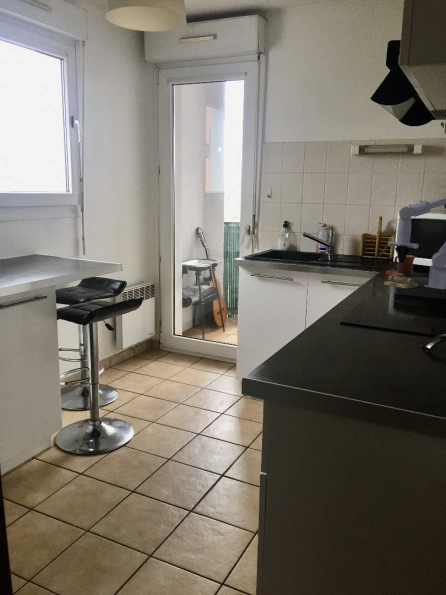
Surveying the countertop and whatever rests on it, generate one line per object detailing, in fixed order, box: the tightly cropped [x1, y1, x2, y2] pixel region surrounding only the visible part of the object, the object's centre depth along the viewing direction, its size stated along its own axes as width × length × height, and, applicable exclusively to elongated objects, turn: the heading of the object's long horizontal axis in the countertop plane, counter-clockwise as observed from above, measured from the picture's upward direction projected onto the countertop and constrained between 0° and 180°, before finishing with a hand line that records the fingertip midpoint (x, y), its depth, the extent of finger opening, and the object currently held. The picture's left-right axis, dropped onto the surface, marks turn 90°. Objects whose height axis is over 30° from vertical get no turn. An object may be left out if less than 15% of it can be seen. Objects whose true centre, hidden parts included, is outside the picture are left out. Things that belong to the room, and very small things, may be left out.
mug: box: [393, 254, 416, 277], centre depth 263 cm, size 12×9×10 cm
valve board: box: [383, 275, 419, 289], centre depth 231 cm, size 12×9×4 cm
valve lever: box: [385, 270, 405, 277], centre depth 234 cm, size 9×2×1 cm, turn 37°
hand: (401, 262), depth 233 cm, fingers closed
